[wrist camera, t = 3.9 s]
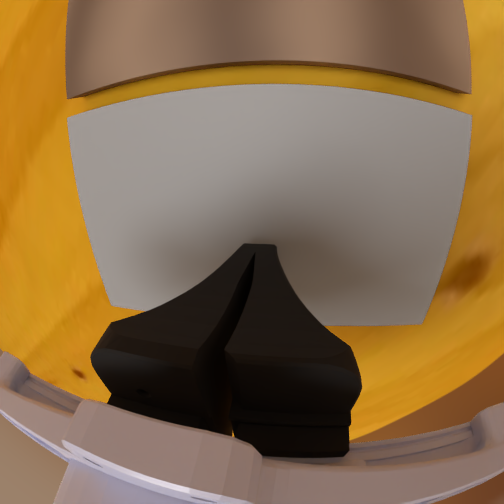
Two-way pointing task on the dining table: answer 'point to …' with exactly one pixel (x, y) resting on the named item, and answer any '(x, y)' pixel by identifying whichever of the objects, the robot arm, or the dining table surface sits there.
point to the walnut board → (264, 38)
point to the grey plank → (275, 193)
